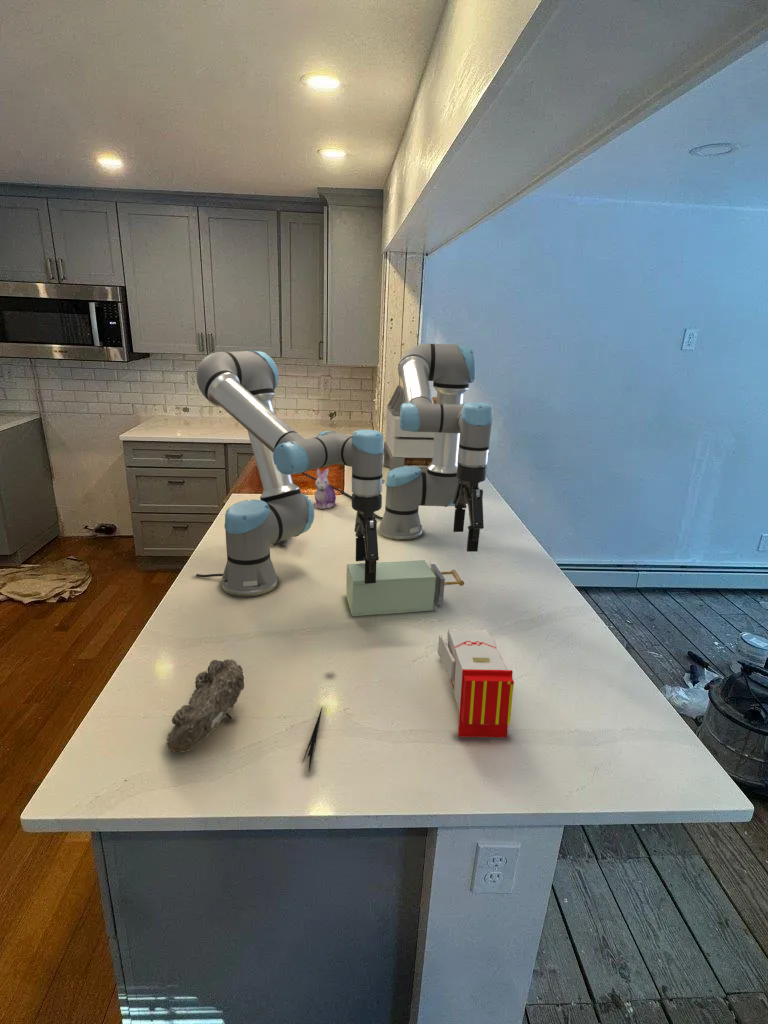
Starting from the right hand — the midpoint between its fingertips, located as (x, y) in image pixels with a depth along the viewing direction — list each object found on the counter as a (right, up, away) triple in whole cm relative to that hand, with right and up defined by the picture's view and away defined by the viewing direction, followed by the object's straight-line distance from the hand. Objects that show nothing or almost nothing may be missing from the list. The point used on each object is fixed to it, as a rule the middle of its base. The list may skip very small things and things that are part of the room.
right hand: (464, 541), depth 152 cm
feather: (-34, -32, -43) cm, 64 cm away
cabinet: (-20, -17, 0) cm, 26 cm away
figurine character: (-56, -2, +38) cm, 68 cm away
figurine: (-45, +10, +72) cm, 86 cm away
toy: (-4, -30, -34) cm, 45 cm away
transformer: (-4, +27, +123) cm, 126 cm away
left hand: (-27, -8, -5) cm, 28 cm away
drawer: (-14, -16, +1) cm, 21 cm away
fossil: (-54, -31, -44) cm, 77 cm away
